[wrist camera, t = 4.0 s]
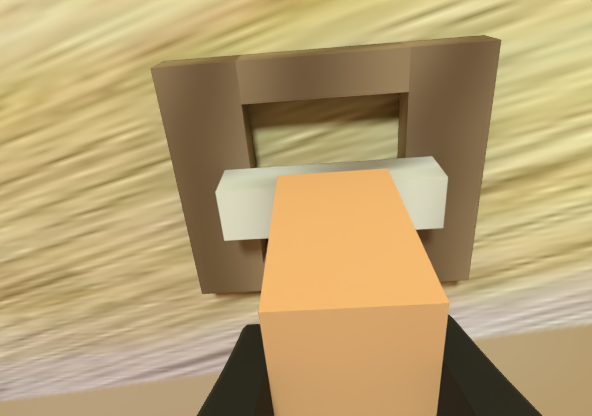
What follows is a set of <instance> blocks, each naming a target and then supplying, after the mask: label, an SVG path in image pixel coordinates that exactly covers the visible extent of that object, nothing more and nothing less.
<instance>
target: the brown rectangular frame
mask: <svg viewBox="0 0 592 416" xmlns="http://www.w3.org/2000/svg"><path fill="white" fill-rule="evenodd" d="M500 45H501V40H500V39H496V38H492V37H489V36H485V35H482V36H470V37H457V38H445V39H433V40H420V41H408V42H396V43H383V44H371V45H359V46H346V47H334V48H322V49H309V50H297V51H285V52H272V53H260V54H248V55H235V56H223V57H211V58H198V59H186V60H174V61H163V62H161V63H159V64H157V65H155V66H153V67H152V68H151V73H152V77H153V81H154V86H155V90H156V94H157V99H158V103H159V108H160V112H161V116H162V121H163V125H164V129H165V134H166V138H167V142H168V147H169V151H170V156H171V160H172V164H173V169H174V173H175V177H176V182H177V186H178V190H179V195H180V199H181V203H182V208H183V212H184V217H185V221H186V225H187V230H188V234H189V238H190V243H191V247H192V251H193V256H194V260H195V265H196V269H197V273H198V278H199V282H200V286H201V291H202V294H210V293H230V292H249V291H261V290H262V283H263V276H264V268H265V261H266V254H267V247H268V245H266V240H265V238H269V233H270V226H271V218H272V211H273V204H274V197H275V190H276V183H277V176H280V175H295V174H310V173H325V172H341V171H356V170H371V169H386V168H388V170H389V173H390V175H391V177H392V179H393V181H394V183H395V186H396V188H397V190H398V192H399V194H400V197H401V199H402V201H403V203H404V205H405V207H406V210H407V212H408V214H409V216H410V218H411V221H412V223H413V225H414V227H415V229H416V231H417V234H418V236H419V238H420V240H421V242H422V245H423V247H424V249H425V251H426V253H427V255H428V258H429V260H430V262H431V264H432V266H433V269H434V271H435V273H436V275H437V277H438V279H439V282H442V281H461V280H468V279H469V272H470V265H471V257H472V250H473V243H474V235H475V228H476V221H477V214H478V206H479V199H480V192H481V184H482V177H483V170H484V162H485V155H486V148H487V140H488V133H489V126H490V118H491V111H492V104H493V96H494V89H495V82H496V74H497V67H498V60H499V53H500ZM388 93H400V104H399V133H398V159H384V160H369V161H354V162H339V163H324V164H309V165H294V166H279V167H264V168H256V164H255V157H254V149H253V142H252V134H251V126H250V119H249V111H248V104H255V103H268V102H281V101H295V100H308V99H321V98H335V97H348V96H361V95H375V94H388Z"/></svg>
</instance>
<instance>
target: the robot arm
mask: <svg viewBox="0 0 592 416" xmlns="http://www.w3.org/2000/svg"><path fill="white" fill-rule="evenodd" d="M197 416H274V410H273V404H272V397H271V391H270V384H269V378H268V372H267V365H266V359H265V352H264V346H263V339H262V333H261V327H260V324H251V325H246V326H245V327H244V328H243V330H242V332H241V334H240V336H239V339H238V341H237V343H236V345H235V347H234V349H233V351H232V353H231V355H230V357H229V359H228V361H227V363H226V365H225V367H224V369H223V371H222V372H221V374H220V376H219V378H218V380H217V382H216V383H215V385H214V387H213V389H212V391H211V392H210V394H209V396H208V397H207V399H206V401H205V402H204V404H203V406H202V408H201V409H200V411H199V413H198V415H197ZM437 416H542V415H541V414H540V413H539V412H538V411H537V410H536V409H535V408H534V407H533V406H532V404H531V403H530V402H529V401H528V400H527V399H526V398H525V397H524V396H523V395H522V394H521V393H520V392H519V391H518V390H517V389H516V388H515V387H514V386H513V385H512V384H511V383H510V382H509V381H508V380H507V378H506V377H504V375H503V374H502V373H501V372H500V371H499V370H498V369H497V368H496V367H495V366H494V364H493V363H492V362H491V361H490V360H489V359H488V358H487V357H486V356H485V354H484V353H483V352H482V351H481V350H480V349H479V348H478V347H477V345H476V344H475V343H474V342H473V341H472V340H471V338H470V337H469V336H468V335H467V334H466V333H465V332H464V330H463V329H462V328H461V327H460V326H459V324H458V323H457V322H456V321H455V320H454V319H453V318H452V317H451V316H450V315H448V319H447V328H446V337H445V345H444V354H443V363H442V372H441V380H440V389H439V398H438V407H437Z"/></svg>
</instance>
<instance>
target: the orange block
mask: <svg viewBox="0 0 592 416" xmlns="http://www.w3.org/2000/svg"><path fill="white" fill-rule="evenodd" d="M448 310H449V301H448V299H447V297H446V295H445V293H444V290H443V288H442V286H441V284H440V282H439V279H438V277H437V275H436V273H435V271H434V269H433V266H432V264H431V262H430V260H429V258H428V255H427V253H426V251H425V249H424V247H423V245H422V242H421V240H420V238H419V236H418V234H417V231H416V229H415V227H414V225H413V223H412V221H411V218H410V216H409V214H408V212H407V210H406V207H405V205H404V203H403V201H402V199H401V197H400V194H399V192H398V190H397V188H396V186H395V183H394V181H393V179H392V177H391V175H390V173H389V170H388V168H386V169H371V170H356V171H341V172H325V173H310V174H295V175H280V176H277V183H276V190H275V197H274V204H273V211H272V218H271V226H270V233H269V240H268V247H267V254H266V261H265V268H264V276H263V283H262V290H261V297H260V304H259V311H258V314H259V320H260V327H261V333H262V339H263V346H264V352H265V359H266V365H267V372H268V378H269V384H270V391H271V397H272V404H273V410H274V416H437V407H438V398H439V389H440V380H441V372H442V363H443V354H444V345H445V337H446V328H447V319H448Z"/></svg>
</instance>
